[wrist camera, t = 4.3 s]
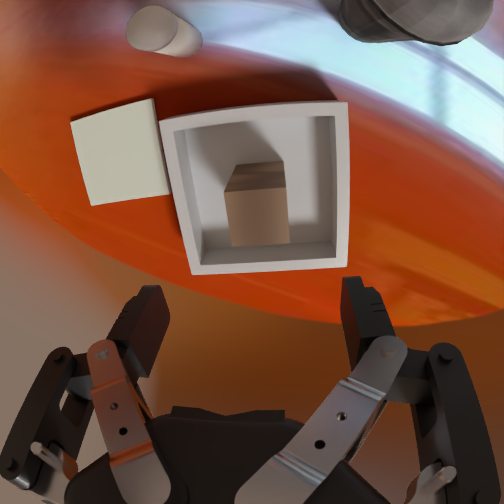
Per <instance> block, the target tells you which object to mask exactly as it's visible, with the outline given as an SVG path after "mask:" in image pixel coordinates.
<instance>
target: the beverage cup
mask: <svg viewBox="0 0 504 504" xmlns="http://www.w3.org/2000/svg"><path fill="white" fill-rule="evenodd" d="M492 10H493V0H342V2H341V6H340V9H339V13H338V15H339V22H340V24H341V26H342V28H343V29H344V30H345V31H346V33H347V34H348V35H350V36H351V37H353V38H354V39H355V40H358V41H361V42H366V43H383V42H394V41H409V40H416V41H420V42H423V43H428V44H433V45H438V46H445V45H452V44H458V43H459V42H461V41H462V40H464V39H466V38H468V37H470V36H471V35H473V34H474V33H476V32H478V31H479V30H481V29H482V28H483V27H484V25H485V24H486V22H487V20H488V19H489V17H490V15H491V13H492Z"/></svg>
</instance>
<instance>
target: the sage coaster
mask: <svg viewBox="0 0 504 504" xmlns="http://www.w3.org/2000/svg"><path fill="white" fill-rule="evenodd" d="M70 123H71V128H72V133H73V137H74V142H75V146H76V151H77V155H78V159H79V163H80V167H81V171H82V175H83V178H84V182H85V186H86V189H87V193H88V196H89V200H90V203H91V206H93V205H99V204H105V203H111V202H117V201H124V200H130V199H137V198H144V197H152V196H159V195H167V194H170V193H171V189H170V184H169V179H168V174H167V169H166V164H165V159H164V154H163V149H162V144H161V138H160V133H159V127H158V121H157V116H156V110H155V104H154V98H151V99H147V100H143V101H139V102H135V103H131V104H128V105H124V106H120V107H117V108H113V109H110V110H107V111H103V112H100V113H97V114H94V115H91V116H88V117H85V118H82V119H79V120H76V121H73V122H70Z"/></svg>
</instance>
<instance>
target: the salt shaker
mask: <svg viewBox="0 0 504 504" xmlns="http://www.w3.org/2000/svg"><path fill="white" fill-rule="evenodd" d="M126 37H127V40H128V42H129V43H130V45H131V46H133V47H134V48H136V49H139V50H144V51H153V52H157V53H162V54H166V55H170V56H175V57H179V58H188V57H191V56H193V55H195V54H196V53H197V52H198V51H199V50H200V48H201V46H202V43H203V38H202V35H201V33H200V32H199V31H198V30H197V29H196V28H194V27H193V26H191V25H190V24H188V23H187V22H185V21H184V20H182V19H180V18H179V17H177V16H175V15H174V14H173V13H172V12H170V11H169V10H167V9H165V8H164V7H161V6H157V5H151V6H146V7H144V8H142V9H140V10H138V11H137V12H136V13H135V14H134V15H133V16H132V17H131V18H130V20H129V22H128V24H127V27H126Z"/></svg>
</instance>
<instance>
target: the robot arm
mask: <svg viewBox="0 0 504 504" xmlns="http://www.w3.org/2000/svg"><path fill="white" fill-rule="evenodd" d="M340 314H341V321H342V326H343V331H344V336H345V341H346V346H347V351H348V356H349V362H350V367H351V374H350V376H349V377H348V378H347V379H345V378H343V379H342V380H340V382H339V383H338V384H337V385H336V387H335V388H334V389H333V391H332V392H331V393H330V395H329V396H328V397H327V398H326V400H325V401H324V402H323V403H322V405H321V406H320V407H319V408H318V409H317V411H316V412H315V413H314V414H313V416H312V417H311V418H310V419H309V420H308V422H307V423H306V424H303V423H302V422H299V421H297V420H294V419H290V418H285V410H255V411H250V412H245V413H240V414H235V415H229V416H224V415H220V414H217V413H213V412H210V411H206V410H203V409H200V408H191V407H180V406H173V407H172V411H171V413H170V414H165V415H161V416H158V417H156V418H154V417H153V415H152V413H151V411H150V409H149V407H148V404H147V402H146V400H145V398H144V396H143V393H142V391H141V389H140V386H139V384H138V383H137V381H138V378H139V377H145V378H148V377H149V375H150V372H151V370H152V367H153V364H154V362H155V359H156V356H157V354H158V351H159V349H160V346H161V343H162V341H163V338H164V336H165V333H166V330H167V328H168V325H169V322H170V312H169V309H168V306H167V303H166V300H165V297H164V294H163V291H162V289H161V287H160V286H159V285H144V286H142V288H141V290H140V291H139V293H138V295H137V296H134V297H132V299H131V300H129V301H128V302H127V303H126V304H125V306H124V308H123V310H122V312H121V313H120V315H119V317H118V319H117V320H116V322H115V323H114V325H113V327H112V329H111V331H110V332H109V334H108V336H107V338H106V340H100V341H98V342H96V343H94V344H93V345H92V346H91V347H90V348H89V350H88V352H87V353H83V354H77V355H73V354H72V352H71V350H70V349H69V348H67V347H59V348H57V349H55V350H53V351H52V352H51V353H50V354H49V355H48V357H47V359H46V360H45V362H44V364H43V366H42V368H41V370H40V371H39V373H38V375H37V377H36V379H35V381H34V383H33V385H32V387H31V389H30V390H29V393H28V394H27V397H26V398H25V401H24V403H23V405H22V407H21V409H20V411H19V413H18V415H17V417H16V420H15V422H14V424H13V426H12V428H11V431H10V433H9V435H8V438H7V440H6V442H5V445H4V447H3V450H2V452H1V455H0V474H1V476H2V477H3V478H5V479H6V480H8V481H9V482H11V483H12V484H14V485H15V486H16V487H18V488H19V489H21V490H22V491H24V492H25V493H27V494H29V495H30V496H32V497H34V498H36V499H38V500H41V501H43V502H45V503H46V504H391V503H390V502H389V501H387V499H386V498H385V497H383V496H382V495H381V494H380V493H379V492H378V491H377V490H376V489H374V488H373V487H372V486H371V485H370V484H369V483H368V482H367V481H366V480H365V479H364V478H363V477H362V476H361V475H359V474H358V473H357V472H356V471H355V470H354V469H353V468H352V467H351V466H350V465H349V463H350V462H351V460H352V459H353V458H354V456H355V455H356V453H357V452H358V450H359V449H360V447H361V446H362V444H363V442H364V441H365V439H366V437H367V436H368V434H369V432H370V431H371V429H372V428H373V426H374V424H375V423H376V421H377V420H378V418H379V416H380V415H381V413H382V411H383V410H384V408H385V406H386V404H387V403H388V401H394V402H402V403H409V404H410V407H411V412H412V417H413V423H414V429H415V435H416V441H417V448H418V455H419V463H420V471H421V473H420V474H418V475H417V477H415V478H414V479H413V480H412V481H411V482H410V484H409V486H408V488H407V491H406V498H405V502H404V504H499V502H500V497H501V490H500V484H499V478H498V473H497V468H496V463H495V459H494V454H493V450H492V446H491V442H490V438H489V434H488V431H487V427H486V424H485V420H484V417H483V413H482V410H481V407H480V404H479V400H478V398H477V394H476V392H475V389H474V386H473V383H472V380H471V377H470V374H469V372H468V369H467V367H466V364H465V361H464V359H463V356H462V354H461V352H460V351H459V349H458V348H457V347H455V346H454V345H452V344H449V343H437V344H435V345H433V346H432V347H431V349H430V351H429V352H427V351H420V350H413V349H409V348H407V346H406V345H405V343H404V342H403V341H402V340H400V339H399V338H397V337H396V335H395V332H394V329H393V326H392V324H391V321H390V318H389V316H388V313H387V311H386V308H385V305H384V304H383V300H382V297H381V295H380V293H379V292H377V291H376V290H375V289H374V288H373V287H364V285H363V282H362V279H361V277H360V276H352V277H343V279H342V290H341V303H340ZM65 390H66V391H67V392H68V393H69V394H68V396H67V398H66V401H65V403H64V405H63V408H62V410H61V411H60V407H59V403H60V400H61V398H62V396H63V393H64V391H65ZM94 408H95V412H96V415H97V418H98V422H99V425H100V429H101V432H102V435H103V438H104V441H105V444H106V447H107V450H108V452H107V453H105V454H104V455H103V456H101V457H100V458H99V459H97V460H96V461H94V462H93V463H92V464H90V465H89V466H88V467H86V468H84V469H83V470H82V471H80V472H78V465H77V462H76V460H77V457H78V454H79V450H80V447H81V444H82V441H83V438H84V435H85V432H86V429H87V427H88V424H89V421H90V418H91V415H92V413H93V410H94Z"/></svg>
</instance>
